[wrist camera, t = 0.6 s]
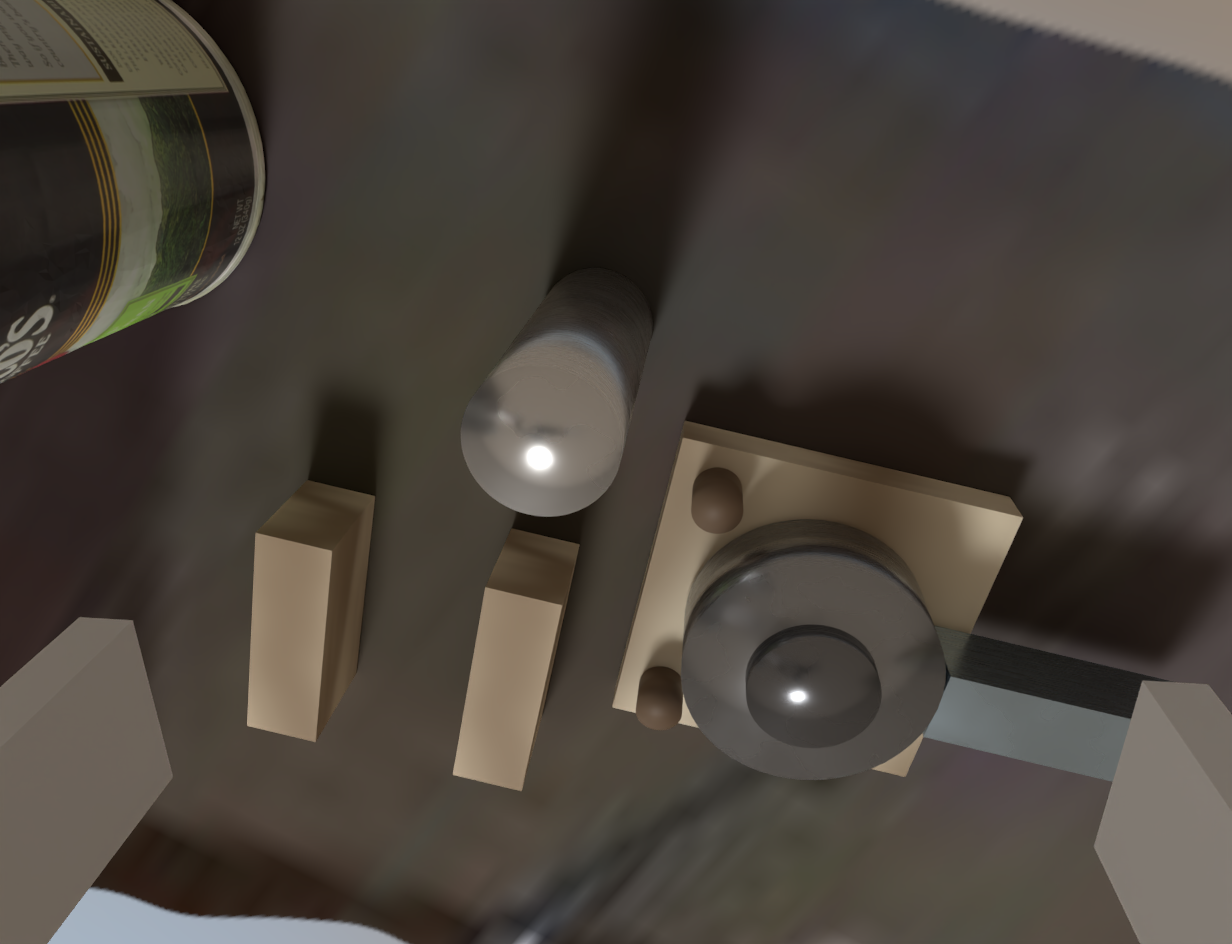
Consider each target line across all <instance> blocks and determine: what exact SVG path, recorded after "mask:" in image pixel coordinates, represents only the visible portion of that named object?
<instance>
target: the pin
mask: <svg viewBox="0 0 1232 944" xmlns="http://www.w3.org/2000/svg"><path fill="white" fill-rule="evenodd" d="M652 330H653V321H652V314H651V310H650V307H649V304H648V301H647V300H646V298H645V296H644V294H643V293H642V292H641V290H640V289H639V288H638V287H637V286H636V285H635V284H634V283H633V282H632V281H631V280H630V279H628V278H627V277H625V276H623V275H622V274H620V273H617V272H615V271H612V270H609V269H603V268H586V269H581V270H578V271H575V272H572V273H570V274H568V275H567V276H565V277H564V278H562V279H561V280H560V281H558V282H557V283H556V284H555V285H554V286H553V288H552V289H551V290H550V292H549V293H548V294H547V296H546V297H545V299H544V300H543V301H542V303H541V304H540V305H539V307H538V308H537V309H536V311H535V312H534V314H533V315H532V316H531V318H530V319H529V320H528V322H527V323H526V324H525V326H524V327H523V329H522V330H521V331H520V333H519V334H518V335H517V337H516V338H515V340H514V341H513V342H512V344H511V345H510V346H509V348H508V349H507V350H506V352H505V353H504V355H503V356H502V357H501V359H500V360H499V361H498V363H497V364H496V365H495V367H494V368H493V370H492V371H491V372H490V374H489V375H488V376H487V378H486V379H485V380H484V382H483V383H482V385H481V386H480V387H479V389H478V390H477V391H476V393H475V394H474V395H473V397H472V398H471V400H470V402H469V404H468V405H467V408H466V410H465V413H464V416H463V420H462V425H461V446H462V451H463V455H464V458H465V461H466V464H467V466H468V468H469V470H470V472H471V474H472V475H473V477H474V478H475V480H476V481H477V482H478V484H479V485H480V486H481V487H482V488H483V489H484V490H485V491H486V492H487V493H488V494H489V495H490V496H491V497H493V498H494V499H495V500H497V501H498V502H499V503H501V504H503V505H505V506H506V507H508V508H511V509H513V510H515V511H518V512H521V513H524V514H528V515H534V516H544V517H552V516H561V515H567V514H570V513H573V512H576V511H579V510H581V509H583V508H585V507H587V506H589V505H590V504H592V503H593V502H595V501H596V500H597V499H598V498H599V497H601V496H602V495H603V494H604V492H605V491H606V490H607V489H608V488H609V486H610V485H611V483H612V482H613V480H614V478H615V476H616V474H617V472H618V468H619V465H620V462H621V458H622V454H623V450H624V446H625V442H626V438H627V434H628V430H629V425H630V421H631V417H632V413H633V409H634V405H635V401H636V397H637V393H638V389H639V385H640V381H641V377H642V373H643V369H644V365H645V361H646V357H647V353H648V349H649V345H650V341H651V336H652Z"/></svg>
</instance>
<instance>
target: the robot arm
mask: <svg viewBox="0 0 1232 944" xmlns="http://www.w3.org/2000/svg"><path fill="white" fill-rule="evenodd" d="M172 778H173V775H172V771H171V767H170V763H169V759H168V755H167V752H166V748H165V744H164V740H163V736H162V732H161V728H160V725H159V721H158V717H157V713H156V709H155V705H154V701H153V697H152V694H151V690H150V686H149V682H148V678H147V674H146V670H145V667H144V663H143V659H142V655H141V651H140V647H139V643H138V639H137V636H136V632H135V628H134V624H133V620H117V619H100V618H83V617H79V618H78V619H77V620H76V621H75V622H74V623H73V624H71V625H70V626H69V627H68V628H67V629H66V630H65V631H63V632H62V633H61V634H60V635H59V636H58V637H57V638H55V639H54V640H53V641H52V642H51V643H50V644H49V645H48V646H46V647H45V648H44V649H43V650H42V651H41V652H40V653H38V654H37V655H36V656H35V657H34V658H33V659H32V660H30V661H29V662H28V663H27V664H26V665H25V666H24V667H22V668H21V669H20V670H19V671H18V672H17V673H16V674H15V675H13V676H12V677H11V678H10V679H9V680H8V681H7V682H5V683H4V684H3V685H2V686H1V687H0V944H47V943H48V942H49V940H50V939H51V938H52V937H53V935H54V934H55V932H56V931H57V930H58V929H59V927H60V926H61V925H62V923H63V922H64V921H65V919H66V918H67V917H68V915H69V914H70V913H71V911H72V910H73V909H74V907H75V906H76V905H77V903H78V902H79V901H80V900H81V898H82V897H83V896H84V894H85V893H86V892H87V890H88V889H89V888H90V886H91V885H92V884H93V882H94V881H95V880H96V878H97V877H98V876H99V874H100V873H101V872H102V870H103V869H104V868H105V866H106V865H107V864H108V862H109V861H110V860H111V858H112V857H113V856H114V854H115V853H116V852H117V851H118V849H119V848H120V847H121V845H122V844H123V843H124V841H125V840H126V839H127V837H128V836H129V835H130V833H131V832H132V831H133V829H134V828H135V827H136V825H137V824H138V823H139V821H140V820H141V819H142V817H143V816H144V815H145V813H146V812H147V811H148V809H149V808H150V807H151V806H152V804H153V803H154V802H155V800H156V799H157V798H158V796H159V795H160V794H161V792H162V791H163V790H164V788H165V787H166V786H167V784H168V783H169V782H170V780H171V779H172ZM1094 848H1095V850H1096V852H1097V854H1098V856H1099V858H1100V860H1101V862H1102V865H1103V867H1104V869H1105V871H1106V873H1107V875H1108V877H1109V879H1110V881H1111V883H1112V885H1113V888H1114V890H1115V892H1116V894H1117V896H1118V898H1119V900H1120V902H1121V904H1122V906H1123V908H1124V911H1125V913H1126V915H1127V917H1128V919H1129V921H1130V923H1131V925H1132V927H1133V929H1134V931H1135V934H1136V936H1137V938H1138V940H1139V942H1140V944H1232V714H1231V713H1230V712H1229V711H1228V709H1227V708H1226V707H1225V706H1224V704H1223V703H1222V702H1221V700H1220V699H1219V698H1218V697H1217V695H1216V694H1215V693H1214V691H1213V690H1212V689H1211V688H1210V686H1209V685H1208V684H1193V683H1176V682H1160V681H1143V680H1142V683H1141V687H1140V690H1139V694H1138V697H1137V701H1136V704H1135V707H1134V711H1133V714H1132V718H1131V721H1130V725H1129V728H1128V731H1127V735H1126V738H1125V742H1124V745H1123V749H1122V752H1121V755H1120V759H1119V762H1118V766H1117V769H1116V773H1115V776H1114V779H1113V783H1112V786H1111V790H1110V793H1109V797H1108V800H1107V803H1106V807H1105V810H1104V814H1103V817H1102V821H1101V824H1100V827H1099V831H1098V834H1097V838H1096V841H1095V845H1094Z"/></svg>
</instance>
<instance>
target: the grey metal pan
mask: <svg viewBox="0 0 1232 944" xmlns="http://www.w3.org/2000/svg"><path fill="white" fill-rule="evenodd" d="M1142 680H1143V681H1160V682H1172V681H1168V680H1164V679H1159V678H1155V677H1151V676H1147V675H1143V674H1138V673H1134V672H1130V671H1126V670H1121V669H1117V668H1113V667H1109V666H1104V665H1100V664H1096V663H1092V662H1087V661H1083V660H1079V659H1075V658H1071V657H1066V656H1062V655H1058V654H1054V653H1049V652H1045V651H1041V650H1037V649H1032V648H1028V647H1024V646H1020V645H1015V644H1011V643H1007V642H1003V641H999V640H994V639H990V638H986V637H982V636H977V635H973V634H969V633H965V632H960V631H956V630H952V629H948V628H944V627H939V626H935V625H934V624H933V621H932V618H931V616H930V613H929V610H928V608H927V605H926V602H925V600H924V597H923V594H922V592H921V589H920V586H919V584H918V582H917V580H916V578H915V576H914V574H913V573H912V571H911V570H910V568H909V567H908V566H907V564H906V563H905V562H904V560H903V559H902V558H901V557H900V556H899V555H898V554H897V553H896V552H895V551H894V550H893V549H891V548H890V547H889V546H888V545H886V544H885V543H884V542H882V541H881V540H879V539H877V538H876V537H874V536H872V535H871V534H869V533H866V532H864V531H862V530H860V529H857V528H855V527H852V526H848V525H845V524H842V523H838V522H832V521H826V520H815V519H799V520H787V521H781V522H776V523H771V524H768V525H765V526H761V527H758V528H756V529H753V530H751V531H749V532H746V533H744V534H742V535H740V536H739V537H737V538H735V539H734V540H732V541H730V542H729V543H728V544H726V545H725V546H724V547H722V548H721V549H720V550H718V551H717V552H716V553H715V554H714V555H713V556H712V557H711V558H710V559H709V560H708V561H707V563H706V564H705V565H704V567H703V568H702V569H701V571H700V572H699V573H698V575H697V577H696V579H695V581H694V582H693V584H692V587H691V589H690V592H689V595H688V598H687V602H686V607H685V616H684V632H683V647H682V662H681V683H682V691H683V695H684V698H685V702H686V705H687V707H688V709H689V712H690V714H691V716H692V718H693V719H694V721H695V723H696V724H697V726H698V727H699V729H700V730H701V731H702V732H703V733H704V735H705V736H706V737H707V738H708V739H709V740H710V741H711V742H712V743H713V744H714V745H715V746H716V747H717V748H719V749H720V750H721V751H723V752H724V753H725V754H727V755H728V756H730V757H731V758H733V759H735V760H736V761H738V762H740V763H742V764H744V765H746V766H748V767H750V768H753V769H755V770H758V771H760V772H764V773H767V774H771V775H774V776H779V777H785V778H790V779H801V780H825V779H833V778H841V777H845V776H850V775H854V774H858V773H860V772H863V771H866V770H869V769H872V768H874V767H876V766H879V765H881V764H883V763H885V762H887V761H888V760H890V759H892V758H893V757H895V756H897V755H898V754H900V753H901V752H902V751H904V750H905V749H906V748H907V747H909V746H910V745H911V744H912V743H913V742H914V741H915V740H916V739H917V738H918V737H919V736H920V735H921V734H923V737H926V738H931V739H935V740H939V741H943V742H948V743H952V744H956V745H960V746H964V747H969V748H973V749H977V750H981V751H986V752H990V753H994V754H998V755H1002V756H1007V757H1011V758H1015V759H1019V760H1023V761H1028V762H1032V763H1036V764H1040V765H1045V766H1049V767H1053V768H1057V769H1061V770H1066V771H1070V772H1074V773H1078V774H1083V775H1087V776H1091V777H1095V778H1099V779H1104V780H1108V781H1112V782H1113V779H1114V776H1115V773H1116V769H1117V766H1118V762H1119V759H1120V755H1121V752H1122V749H1123V745H1124V742H1125V738H1126V735H1127V731H1128V728H1129V725H1130V721H1131V718H1132V714H1133V711H1134V707H1135V704H1136V701H1137V697H1138V694H1139V690H1140V687H1141V683H1142Z"/></svg>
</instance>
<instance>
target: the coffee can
mask: <svg viewBox="0 0 1232 944" xmlns="http://www.w3.org/2000/svg"><path fill="white" fill-rule="evenodd" d="M264 193H265V162H264V154H263V146H262V141H261V136H260V132H259V128H258V124H257V120H256V117H255V115H254V112H253V109H252V106H251V103H250V101H249V99H248V96H247V94H246V91H245V89H244V87H243V85H242V83H241V81H240V79H239V77H238V75H237V73H236V72H235V70H234V68H233V67H232V65H231V64H230V62H229V61H228V60H227V58H226V57H225V55H224V54H223V52H222V51H221V50H220V48H219V47H218V45H217V44H216V43H215V41H214V40H213V39H212V38H211V37H210V36H209V35H208V33H207V32H206V31H205V30H204V29H203V28H202V27H201V26H200V25H199V24H198V23H197V22H196V21H195V20H194V19H193V18H192V17H191V16H190V15H189V14H188V13H187V12H185V11H184V10H183V9H182V8H181V7H180V6H178V5H177V4H176V3H174V2H173V1H172V0H0V383H3V382H5V381H7V380H9V379H11V378H13V377H16V376H18V375H21V374H23V373H25V372H27V371H29V370H31V369H33V368H35V367H38V366H40V365H42V364H45V363H47V362H50V361H52V360H54V359H56V358H58V357H61V356H63V355H65V354H67V353H69V352H71V351H73V350H76V349H78V348H80V347H82V346H84V345H87V344H89V343H91V342H94V341H96V340H98V339H101V338H103V337H105V336H108V335H110V334H112V333H114V332H117V331H119V330H121V329H124V328H126V327H128V326H130V325H132V324H134V323H136V322H139V321H141V320H144V319H146V318H149V317H151V316H152V315H155V314H157V313H160V312H162V311H164V310H166V309H169V308H171V307H175V306H180V305H184V304H187V303H189V302H191V301H193V300H195V299H198V298H200V297H201V296H203V295H205V294H207V293H208V292H210V291H212V290H213V289H214V288H215V287H217V286H218V285H219V284H221V283H222V282H223V281H224V280H225V279H226V278H227V277H228V276H229V275H230V274H231V273H232V272H233V270H234V269H235V268H236V267H237V265H238V264H239V263H240V261H241V260H242V258H243V257H244V255H245V253H246V252H247V250H248V249H249V247H250V244H251V242H252V240H253V238H254V236H255V234H256V231H257V228H258V225H259V223H260V219H261V214H262V210H263V202H264Z"/></svg>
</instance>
